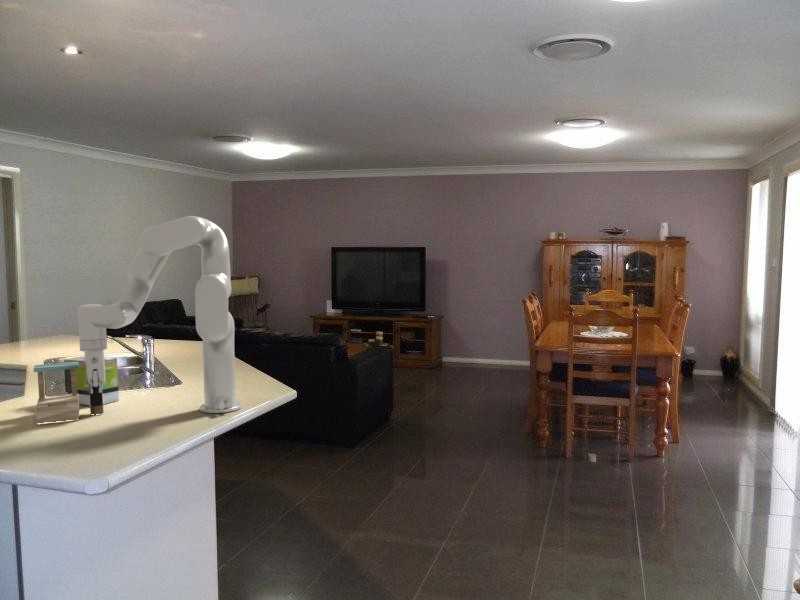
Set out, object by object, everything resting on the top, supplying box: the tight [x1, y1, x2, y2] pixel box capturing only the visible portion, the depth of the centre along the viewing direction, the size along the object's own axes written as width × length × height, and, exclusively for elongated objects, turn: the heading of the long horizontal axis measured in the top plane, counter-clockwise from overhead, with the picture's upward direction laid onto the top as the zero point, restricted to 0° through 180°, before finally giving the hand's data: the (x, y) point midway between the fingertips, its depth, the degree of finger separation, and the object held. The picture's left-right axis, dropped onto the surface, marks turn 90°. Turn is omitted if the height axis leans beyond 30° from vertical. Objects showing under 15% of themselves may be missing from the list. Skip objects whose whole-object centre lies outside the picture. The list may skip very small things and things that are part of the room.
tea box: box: [63, 355, 120, 406], centre depth 220 cm, size 15×10×15 cm, turn 59°
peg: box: [89, 381, 104, 415], centre depth 203 cm, size 4×4×10 cm
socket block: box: [33, 362, 80, 423], centre depth 200 cm, size 16×12×15 cm
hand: (96, 403), depth 203 cm, fingers closed on peg, 3 cm apart
